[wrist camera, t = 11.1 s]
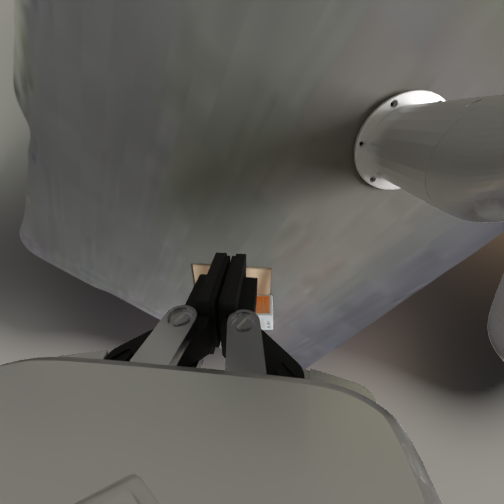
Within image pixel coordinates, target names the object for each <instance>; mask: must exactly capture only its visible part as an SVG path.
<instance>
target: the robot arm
mask: <svg viewBox="0 0 504 504" xmlns="http://www.w3.org/2000/svg"><path fill="white" fill-rule="evenodd" d="M391 102H393V105H392V106H391ZM360 142H362V145H359V143H360ZM353 155H354V163H355V166H356V170H357V171H358V173H359V175H360V176H361V177H362V179H363V180H364V181H365V182H367V183H368V184H370V185H372V186H374V187H376V188H379V189H383V190H396V189H403V190H405V191H407V192H409V193H411V194H413V195H414V196H416V197H418V198H420V199H422V200H424V201H426V202H427V203H429V204H431V205H433V206H435V207H437V208H439V209H441V210H443V211H445V212H447V213H449V214H451V215H453V216H455V217H457V218H460V219H463V220H467V221H472V222H483V223H491V222H502V221H504V95H495V96H486V97H477V98H468V99H459V100H450V101H446V100H445V99H444V98H443V97H442V96H440V95H439V94H437V93H434V92H432V91H428V90H412V91H407V92H403V93H400V94H398V95H395V96H393V97H391V98H389V99H388V100H386V101H384V102H383V103H381V104H380V105H379V106H378V107H377V108H376V109H374V110H373V112H372V113H371V114H370V115H369V116H368V117H367V119H366V120H365V122H364V123H363V125H362V126H361V128H360V130H359V133H358V135H357V137H356V141H355V145H354V154H353ZM371 177H372V179H371V180H370V178H371ZM257 284H258V278H253V277H246V254H236V256H232V259H231V262H230V256H227V254H226V253H216V254H215V257H214V259H213V261H212V264H211V266H210V268H209V270H208V273H207V274H200V275H199V277H198V279H197V281H196V283H195V286H194V288H193V290H192V292H191V294H190V296H189V298H188V300H187V302H186V304H185V305H180V306H177V307H174V308H172V309H170V310H169V311H168V312H167V313H166V314H165V315H164V317H163V318H162V319H161V321H160V322H159V323H158V325H157V326H156V327H155V328H154V329H152V330H150V331H148V332H146V333H145V334H142V335H140V336H138V337H137V338H134V339H132V340H130V341H129V342H127V343H125V344H123V345H121V346H119V347H117V348H115V349H114V350H112V351H111V352H110V353H108V351H107V350H104V351H96V352H88V353H79V354H72V355H63V356H59V357H43V358H42V357H41V358H33V359H25V360H19V361H15V362H11V363H6V364H3V365H0V504H442V503H441V501H440V499H439V497H438V494H437V492H436V490H435V488H434V486H433V483H432V481H431V480H430V477H429V475H428V473H427V471H426V469H425V467H424V465H423V462H422V460H421V459H420V457H419V455H418V453H417V451H416V449H415V447H414V445H413V444H412V442H411V440H410V438H409V437H408V435H407V434H406V432H405V430H404V429H403V427H402V426H401V425H400V423H399V422H398V421H397V420H396V419H395V417H394V416H393V415H391V414H390V413H389V412H388V411H387V410H386V409H384V408H383V407H381V406H380V405H379V404H377V403H376V400H375V398H374V396H373V395H372V393H371V392H370V391H369V390H368V389H367V388H366V387H364V386H362V385H361V384H358V383H356V382H352V381H349V380H346V379H343V378H340V377H336V376H333V375H330V374H327V373H323V372H320V371H317V370H314V369H310V371H309V370H306V369H302V367H301V366H300V365H299V364H298V363H297V362H296V361H295V360H294V359H293V358H292V357H291V356H290V355H289V354H288V353H287V352H286V351H285V350H283V349H282V348H281V347H280V346H279V345H278V344H277V343H276V342H275V341H274V340H273V339H272V338H271V337H269V336H268V335H267V334H266V333H265V332H264V331H263V330H262V329H261V325H260V319H259V317H258V315H257V314H256V313H255V312H256V302H257ZM488 334H489V338H490V341H491V343H492V345H493V347H494V349H495V351H496V352H497V353H498V355H499V356H500V357H501V359H502V360H503V361H504V274H503V277H502V280H501V282H500V285H499V287H498V290H497V292H496V295H495V299H494V301H493V304H492V306H491V310H490V314H489V317H488ZM220 342H221V346H222V354H223V356H224V357H225V358H226V363H225V370H215V369H205V368H201V366H202V364H203V361H204V357H205V356H207V355H208V354H214V350H215V347H219V346H220Z"/></svg>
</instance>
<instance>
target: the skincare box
mask: <svg viewBox="0 0 504 504" xmlns="http://www.w3.org/2000/svg"><path fill="white" fill-rule="evenodd" d="M255 313H256V314H257V315H258V317H259V319H260V325H261V329H262V330H273V296H272V295H257V302H256V312H255Z"/></svg>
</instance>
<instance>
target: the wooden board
mask: <svg viewBox="0 0 504 504" xmlns="http://www.w3.org/2000/svg"><path fill="white" fill-rule="evenodd" d="M210 266H211V265H208V264H193V271H194V278H195V283H196V281H197V279H198V277H199V275H200V274H207V273H208V270H209V268H210ZM246 277H253V278H258V284H257V295H269V293H270V280H271V268H257V267H246Z"/></svg>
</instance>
